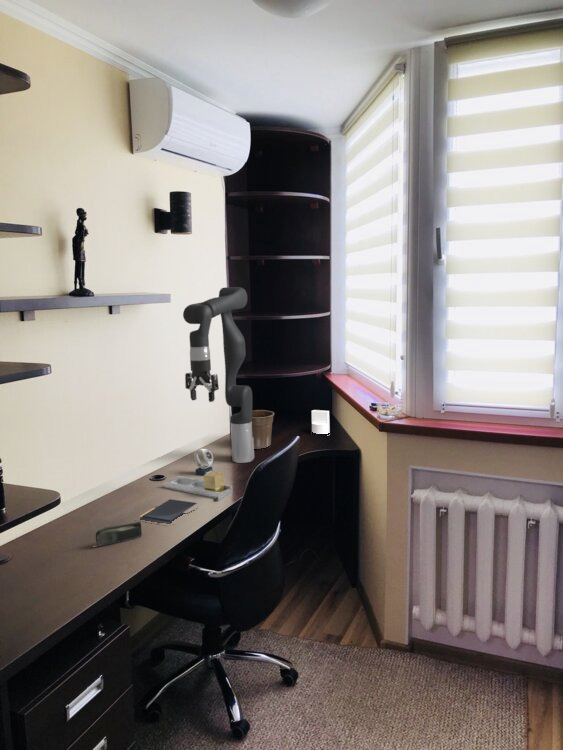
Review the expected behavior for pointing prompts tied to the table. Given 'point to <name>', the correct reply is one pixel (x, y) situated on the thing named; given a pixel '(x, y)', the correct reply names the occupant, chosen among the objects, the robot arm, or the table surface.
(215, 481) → the tan block
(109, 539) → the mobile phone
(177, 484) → the tray with compartments
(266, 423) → the plant pot
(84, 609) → the table surface
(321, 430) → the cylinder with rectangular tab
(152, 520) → the dark blue notebook
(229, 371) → the robot arm
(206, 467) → the watch
